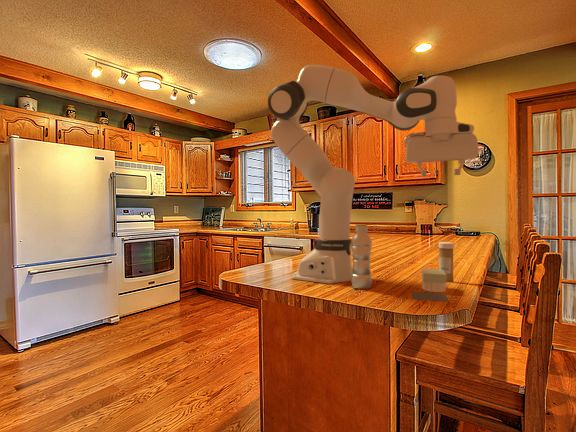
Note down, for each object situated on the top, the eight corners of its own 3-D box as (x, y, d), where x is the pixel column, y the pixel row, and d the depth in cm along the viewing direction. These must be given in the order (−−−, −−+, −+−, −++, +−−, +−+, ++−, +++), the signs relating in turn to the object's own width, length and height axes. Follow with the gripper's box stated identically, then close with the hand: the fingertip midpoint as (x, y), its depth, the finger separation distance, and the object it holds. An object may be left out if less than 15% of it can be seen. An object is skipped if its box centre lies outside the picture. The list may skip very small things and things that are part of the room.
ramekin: (422, 292, 93) (422, 281, 93) (421, 287, 99) (421, 276, 99) (447, 294, 90) (447, 282, 90) (444, 289, 97) (444, 277, 96)
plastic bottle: (351, 291, 95) (351, 225, 95) (350, 285, 102) (350, 224, 101) (373, 291, 94) (373, 225, 94) (370, 286, 101) (370, 224, 100)
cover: (423, 281, 92) (423, 273, 92) (421, 276, 99) (422, 268, 99) (446, 282, 90) (446, 274, 90) (442, 277, 97) (442, 269, 97)
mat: (412, 300, 85) (412, 298, 85) (411, 293, 92) (411, 291, 92) (449, 304, 82) (449, 301, 82) (445, 296, 89) (445, 294, 89)
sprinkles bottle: (456, 282, 105) (456, 242, 105) (448, 284, 103) (449, 243, 102) (443, 279, 109) (443, 241, 109) (435, 281, 107) (435, 242, 106)
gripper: (404, 131, 97) (404, 176, 97) (480, 125, 90) (479, 173, 90) (404, 136, 103) (404, 178, 103) (475, 130, 96) (475, 175, 96)
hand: (440, 175), depth 97 cm, fingers open, 8 cm apart
